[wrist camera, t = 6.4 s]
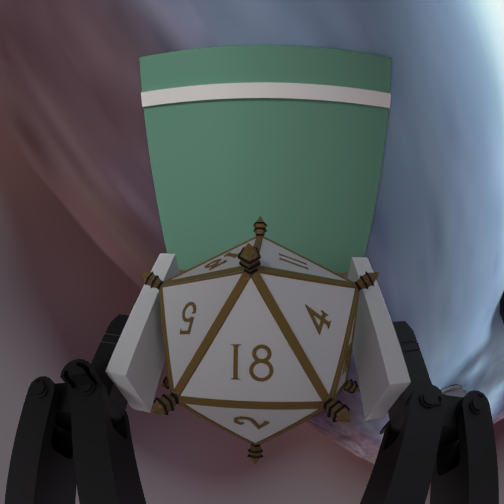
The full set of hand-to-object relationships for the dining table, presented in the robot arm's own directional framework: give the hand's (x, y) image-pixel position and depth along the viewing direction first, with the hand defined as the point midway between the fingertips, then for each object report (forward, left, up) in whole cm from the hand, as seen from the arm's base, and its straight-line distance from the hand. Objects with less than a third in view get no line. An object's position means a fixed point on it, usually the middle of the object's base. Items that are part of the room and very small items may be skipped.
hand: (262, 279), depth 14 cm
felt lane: (-2, 0, -9) cm, 9 cm away
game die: (0, 0, 0) cm, 0 cm away
